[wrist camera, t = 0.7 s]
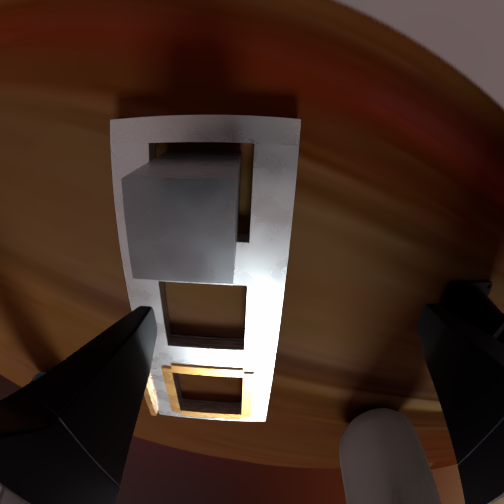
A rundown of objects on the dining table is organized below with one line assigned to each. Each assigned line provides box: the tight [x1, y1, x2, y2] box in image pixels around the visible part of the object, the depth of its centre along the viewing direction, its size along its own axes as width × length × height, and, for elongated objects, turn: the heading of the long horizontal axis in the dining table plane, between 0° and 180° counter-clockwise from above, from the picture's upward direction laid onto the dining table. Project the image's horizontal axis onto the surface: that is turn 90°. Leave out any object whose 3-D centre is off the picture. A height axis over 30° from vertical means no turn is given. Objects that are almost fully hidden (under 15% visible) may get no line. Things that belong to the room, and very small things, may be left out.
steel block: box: [121, 151, 241, 284], centre depth 17 cm, size 5×5×8 cm
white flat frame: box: [110, 114, 301, 422], centre depth 24 cm, size 13×30×2 cm, turn 177°
